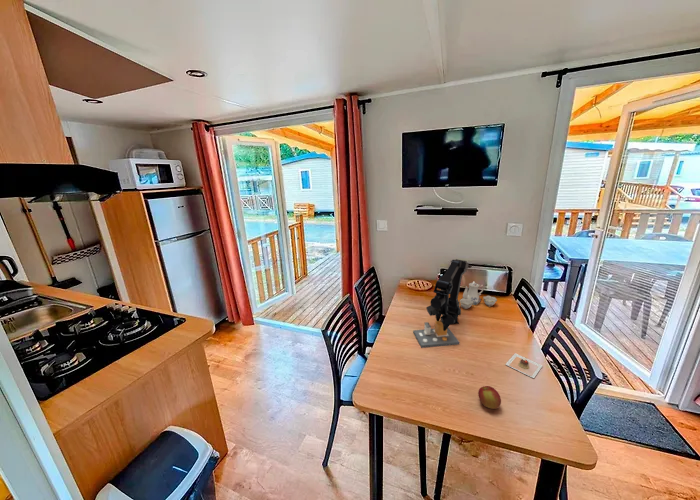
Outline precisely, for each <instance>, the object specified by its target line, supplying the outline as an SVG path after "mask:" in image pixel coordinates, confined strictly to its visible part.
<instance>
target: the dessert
mask: <svg viewBox="0 0 700 500" xmlns="http://www.w3.org/2000/svg"><path fill="white" fill-rule="evenodd" d="M516 358H519V359H520V361H519V362H518V365H517V366H519V368H521V369H523V370H529V369H530V364H532V365H535V366H537V368H536V369H535V371H534V372H533V374H532V375H529V374H527V373H525V372H524V371H521V370H519V369H517V368H515V367H513V366H511V364H512V362H513V361H514V360H516ZM505 366H508V367H510V368H512V369H514V370H515V371H518V372H520V373H522V374H524V375H526V376H528V377H530V378H533V379H535V378H536V376H537V375H538V374H539V372H540V370H541V369H542V368H543V365H542V364H540V363H538V362H535V361H533V360H531V359H529V358H526V357H525V356H522V355H520V354H518V353H516V352H515V353H514V354H513V355H511V358H509V359H508V361H506V363H505Z"/></svg>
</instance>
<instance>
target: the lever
mask: <svg viewBox="0 0 700 500" xmlns="http://www.w3.org/2000/svg"><path fill="white" fill-rule="evenodd" d="M423 327H424V328H423V329H424V333H425V335H431V333H430V331H431V329H432V326H431V324H430V323H429V322H428V321H426V322H424V326H423Z"/></svg>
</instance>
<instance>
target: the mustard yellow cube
mask: <svg viewBox="0 0 700 500" xmlns="http://www.w3.org/2000/svg"><path fill="white" fill-rule="evenodd" d="M434 329H435V332H436V333H437V335H438V336H439V335H447V329H446V331H444V330H443V323H442V322H441V321H440V320H439V321H436V320H435V321H434Z"/></svg>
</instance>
